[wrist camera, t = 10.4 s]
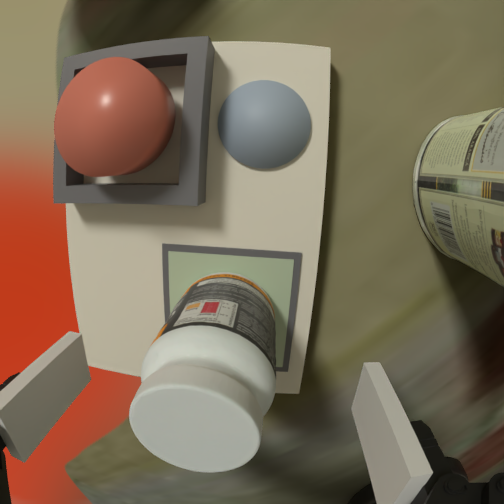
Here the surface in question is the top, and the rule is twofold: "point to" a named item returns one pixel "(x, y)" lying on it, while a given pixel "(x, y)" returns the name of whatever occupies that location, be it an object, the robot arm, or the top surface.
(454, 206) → the coffee can
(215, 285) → the pill bottle
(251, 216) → the white control panel
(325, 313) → the top surface
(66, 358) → the robot arm
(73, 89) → the button
